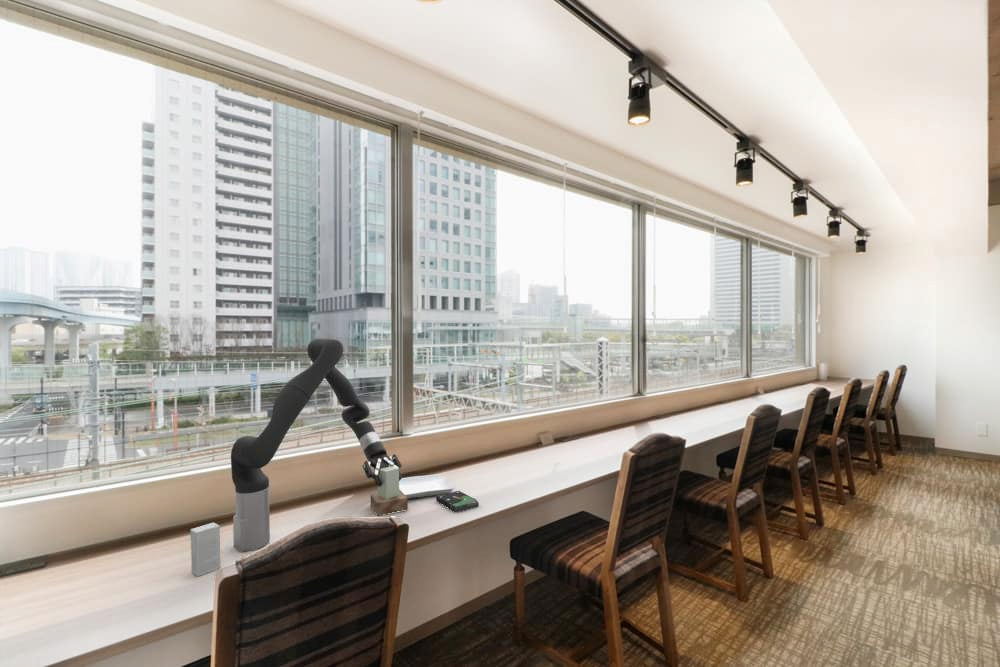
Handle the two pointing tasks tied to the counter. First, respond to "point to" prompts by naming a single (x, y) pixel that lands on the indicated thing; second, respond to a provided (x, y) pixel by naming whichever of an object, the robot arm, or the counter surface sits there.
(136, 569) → the counter surface
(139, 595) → the counter surface
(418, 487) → the salad plate
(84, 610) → the counter surface
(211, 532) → the skincare box
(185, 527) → the counter surface
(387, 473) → the sage block
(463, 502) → the disk drive
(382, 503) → the walnut block
